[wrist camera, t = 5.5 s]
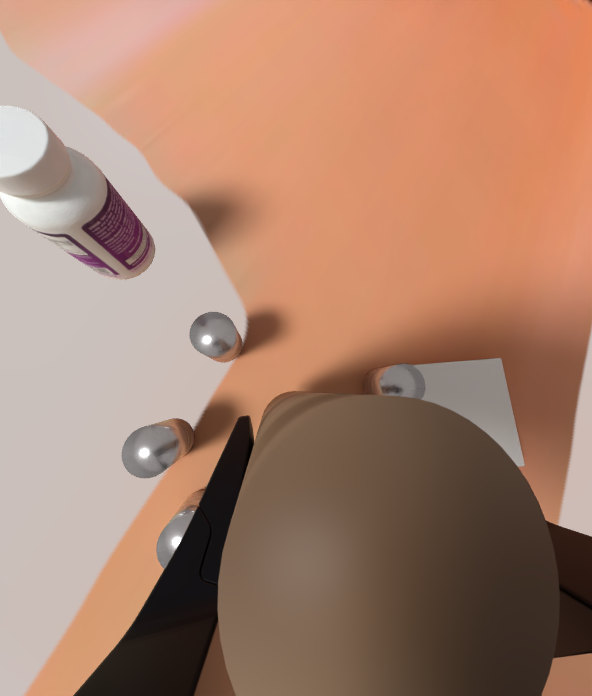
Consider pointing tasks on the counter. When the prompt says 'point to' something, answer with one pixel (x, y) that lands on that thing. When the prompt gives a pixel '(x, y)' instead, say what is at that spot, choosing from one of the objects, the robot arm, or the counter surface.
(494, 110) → the counter surface
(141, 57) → the counter surface
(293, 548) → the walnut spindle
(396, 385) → the spacer posts
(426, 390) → the rubber mat
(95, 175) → the pill bottle
